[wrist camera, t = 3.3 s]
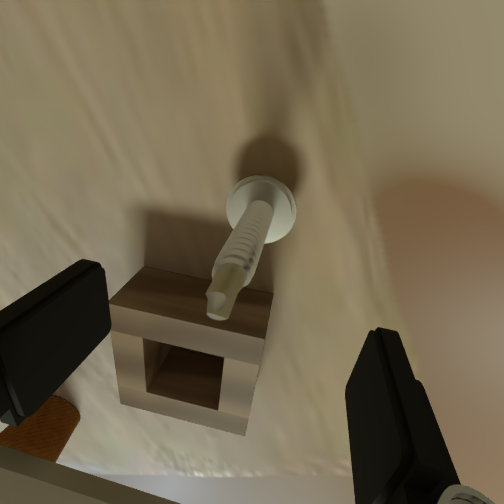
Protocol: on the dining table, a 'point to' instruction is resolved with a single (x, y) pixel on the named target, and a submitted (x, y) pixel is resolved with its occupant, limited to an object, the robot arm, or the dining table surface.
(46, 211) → the dining table surface
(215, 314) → the screw
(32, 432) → the disposable coffee cup
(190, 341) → the socket block
